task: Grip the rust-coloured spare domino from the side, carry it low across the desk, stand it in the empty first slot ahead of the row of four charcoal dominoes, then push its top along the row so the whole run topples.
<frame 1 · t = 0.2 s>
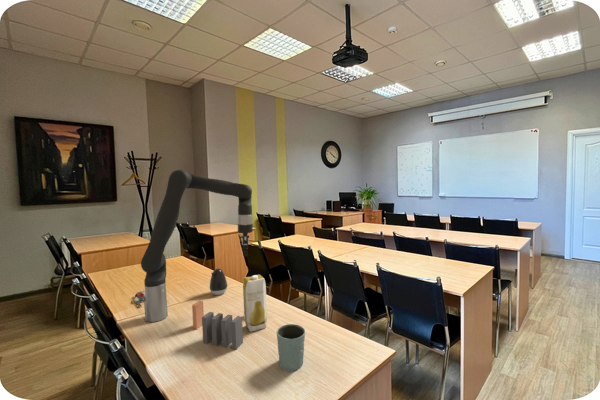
hand: (245, 254, 144), 29 cm above the table, tool pointing down, fingers open, 8 cm apart
domino 3: (218, 342, 115), on the table
domino 4: (227, 343, 113), on the table
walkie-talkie: (143, 301, 160), on the table
spare domino: (198, 326, 128), on the table
grey green cup: (292, 363, 100), on the table
domino 5: (237, 345, 112), on the table
black rounded cone: (218, 293, 167), on the table
juice carton: (256, 327, 126), on the table
domino 2: (209, 340, 117), on the table
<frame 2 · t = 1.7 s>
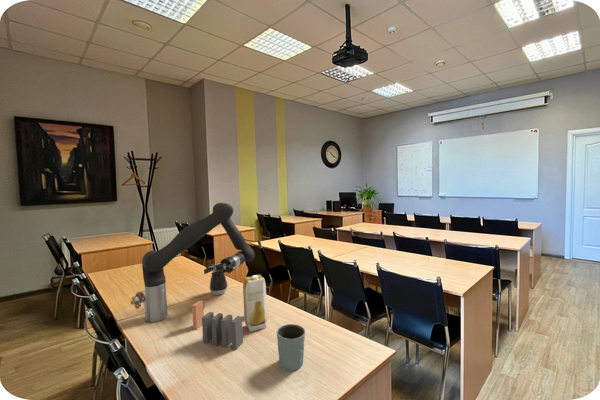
hand: (211, 272, 138), 22 cm above the table, tool horizontal, fingers open, 8 cm apart
nothing on the table moved.
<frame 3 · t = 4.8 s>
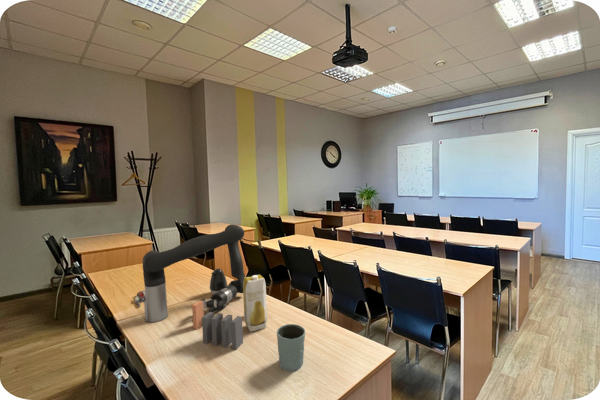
hand: (201, 311, 130), 6 cm above the table, tool horizontal, fingers open, 8 cm apart
nothing on the table moved.
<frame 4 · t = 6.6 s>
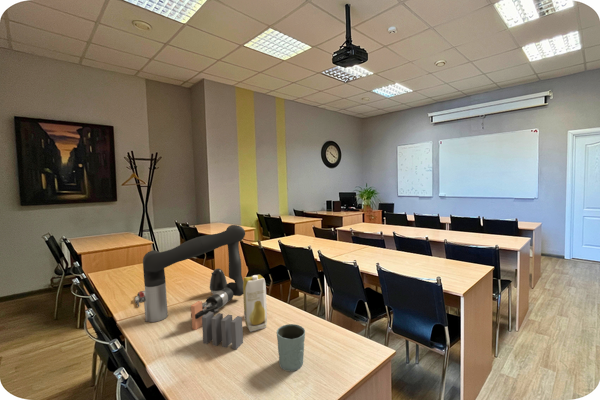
hand: (193, 316, 125), 6 cm above the table, tool horizontal, fingers closed on spare domino, 2 cm apart
spare domino: (198, 326, 128), on the table, touching gripper
everything else where it was.
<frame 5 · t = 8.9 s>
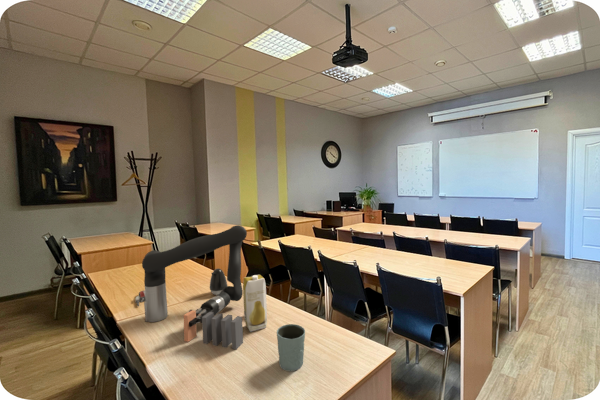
hand: (187, 324, 116), 7 cm above the table, tool horizontal, fingers closed on spare domino, 2 cm apart
spare domino: (190, 338, 118), on the table, touching gripper
everything else where it was.
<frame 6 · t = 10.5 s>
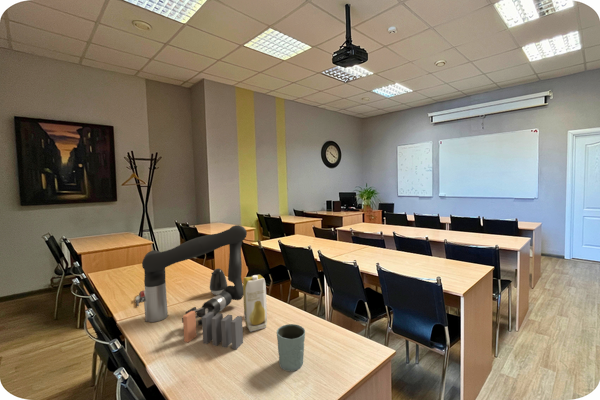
hand: (190, 322, 118), 7 cm above the table, tool horizontal, fingers open, 8 cm apart
spare domino: (190, 338, 118), on the table
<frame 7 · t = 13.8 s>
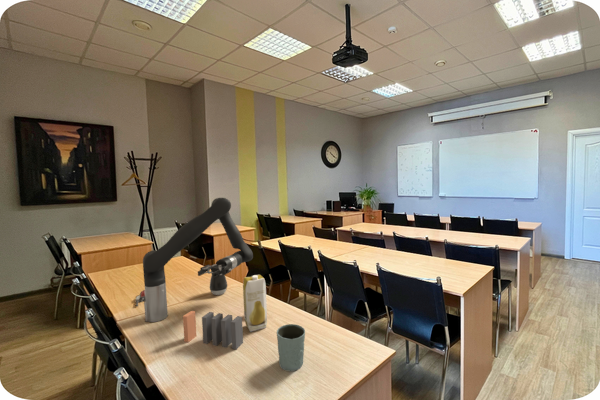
hand: (205, 274, 128), 24 cm above the table, tool horizontal, fingers open, 8 cm apart
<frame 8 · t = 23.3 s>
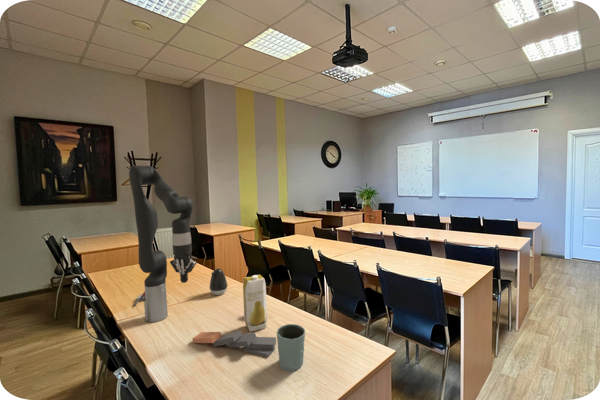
hand: (184, 282, 121), 23 cm above the table, tool pointing down, fingers closed
domino 3: (233, 341, 113), point 1 cm above the table, tilted 69°, touching domino 4
domino 4: (247, 342, 110), point 2 cm above the table, tilted 90°, touching domino 3, domino 5
spare domino: (197, 337, 117), point 1 cm above the table, tilted 77°, touching domino 2
domino 5: (247, 347, 110), on the table, tilted 90°, touching domino 4
domino 2: (217, 341, 114), point 1 cm above the table, tilted 68°, touching spare domino
at the end: spare domino inside the target area (3.6 cm from its centre), point 0.9 cm above the table; spare domino tilted 77°; domino 5 tilted 90° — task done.
